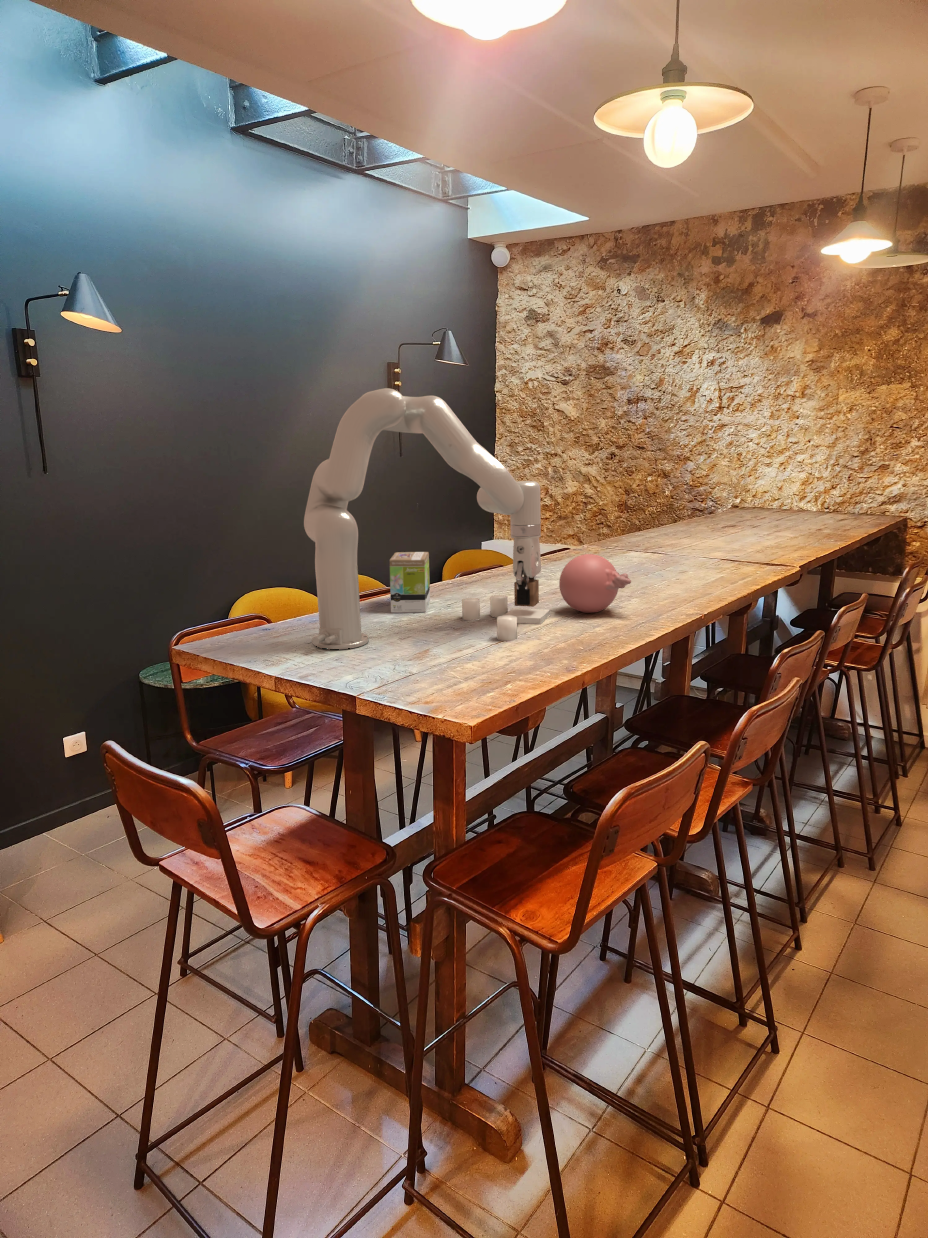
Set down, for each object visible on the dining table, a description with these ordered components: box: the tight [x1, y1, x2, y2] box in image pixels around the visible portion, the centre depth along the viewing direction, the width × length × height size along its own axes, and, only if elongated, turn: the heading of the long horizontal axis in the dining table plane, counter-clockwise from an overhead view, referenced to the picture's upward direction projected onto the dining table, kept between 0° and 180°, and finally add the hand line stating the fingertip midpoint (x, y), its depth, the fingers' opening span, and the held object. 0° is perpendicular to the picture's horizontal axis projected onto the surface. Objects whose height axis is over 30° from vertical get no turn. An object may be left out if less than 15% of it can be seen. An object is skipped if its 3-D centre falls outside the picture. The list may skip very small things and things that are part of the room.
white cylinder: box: [489, 594, 509, 618], centre depth 207 cm, size 5×5×5 cm
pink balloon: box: [559, 553, 632, 614], centre depth 205 cm, size 15×20×15 cm
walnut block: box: [513, 579, 540, 608], centre depth 201 cm, size 5×5×6 cm
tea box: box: [389, 551, 431, 614], centre depth 218 cm, size 15×10×15 cm, turn 179°
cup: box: [496, 615, 518, 642], centre depth 184 cm, size 5×5×5 cm
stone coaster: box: [504, 607, 551, 625], centre depth 203 cm, size 10×10×2 cm
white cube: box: [461, 597, 481, 622], centre depth 204 cm, size 5×5×5 cm
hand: (526, 601), depth 202 cm, fingers closed on walnut block, 5 cm apart
